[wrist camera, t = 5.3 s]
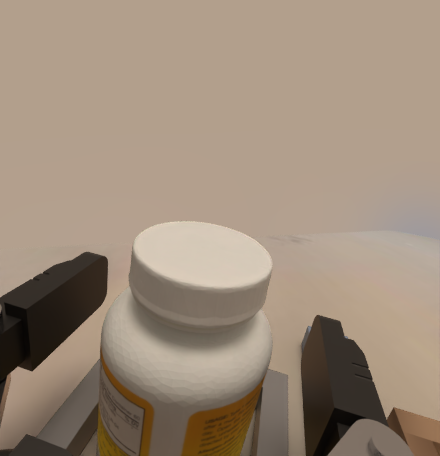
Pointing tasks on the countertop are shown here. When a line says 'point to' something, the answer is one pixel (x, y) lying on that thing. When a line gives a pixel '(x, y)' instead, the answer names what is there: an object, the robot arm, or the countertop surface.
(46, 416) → the countertop surface
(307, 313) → the countertop surface
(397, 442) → the robot arm
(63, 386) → the countertop surface
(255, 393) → the supplement bottle
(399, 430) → the holder
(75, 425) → the holder open
